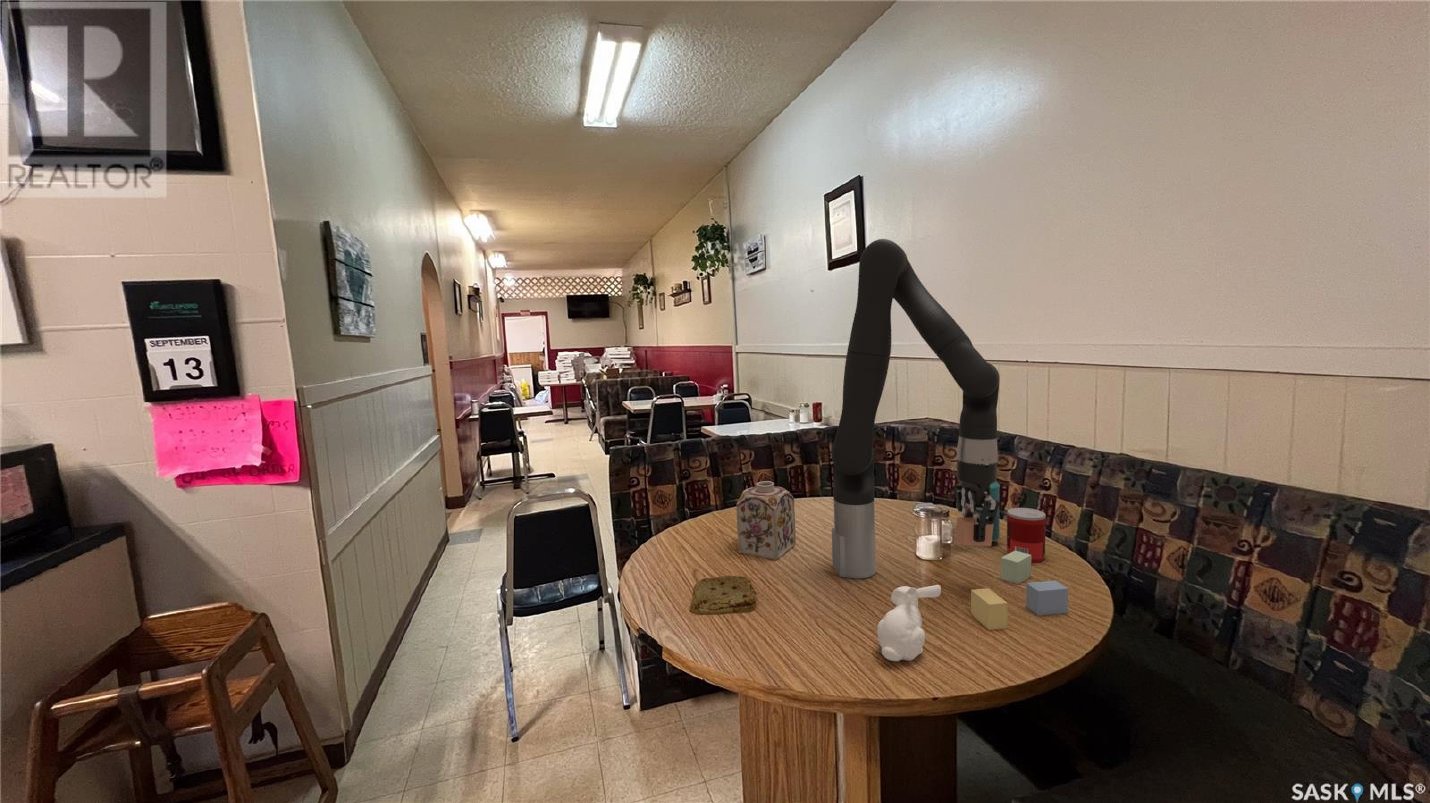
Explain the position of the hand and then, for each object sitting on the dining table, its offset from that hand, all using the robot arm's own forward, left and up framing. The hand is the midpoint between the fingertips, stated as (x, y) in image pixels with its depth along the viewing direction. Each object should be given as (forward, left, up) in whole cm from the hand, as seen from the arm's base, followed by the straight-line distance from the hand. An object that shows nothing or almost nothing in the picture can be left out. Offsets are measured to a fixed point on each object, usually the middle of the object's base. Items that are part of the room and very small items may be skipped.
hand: (973, 537), depth 114 cm
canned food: (+20, +13, -11) cm, 27 cm away
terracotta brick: (0, 0, -1) cm, 1 cm away
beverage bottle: (+16, +23, -11) cm, 31 cm away
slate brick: (+8, -11, -11) cm, 18 cm away
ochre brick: (-5, -13, -11) cm, 18 cm away
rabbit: (-24, -19, -11) cm, 32 cm away
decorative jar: (-40, +30, -11) cm, 51 cm away
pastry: (-54, +5, -12) cm, 55 cm away
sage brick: (+11, +3, -11) cm, 16 cm away
